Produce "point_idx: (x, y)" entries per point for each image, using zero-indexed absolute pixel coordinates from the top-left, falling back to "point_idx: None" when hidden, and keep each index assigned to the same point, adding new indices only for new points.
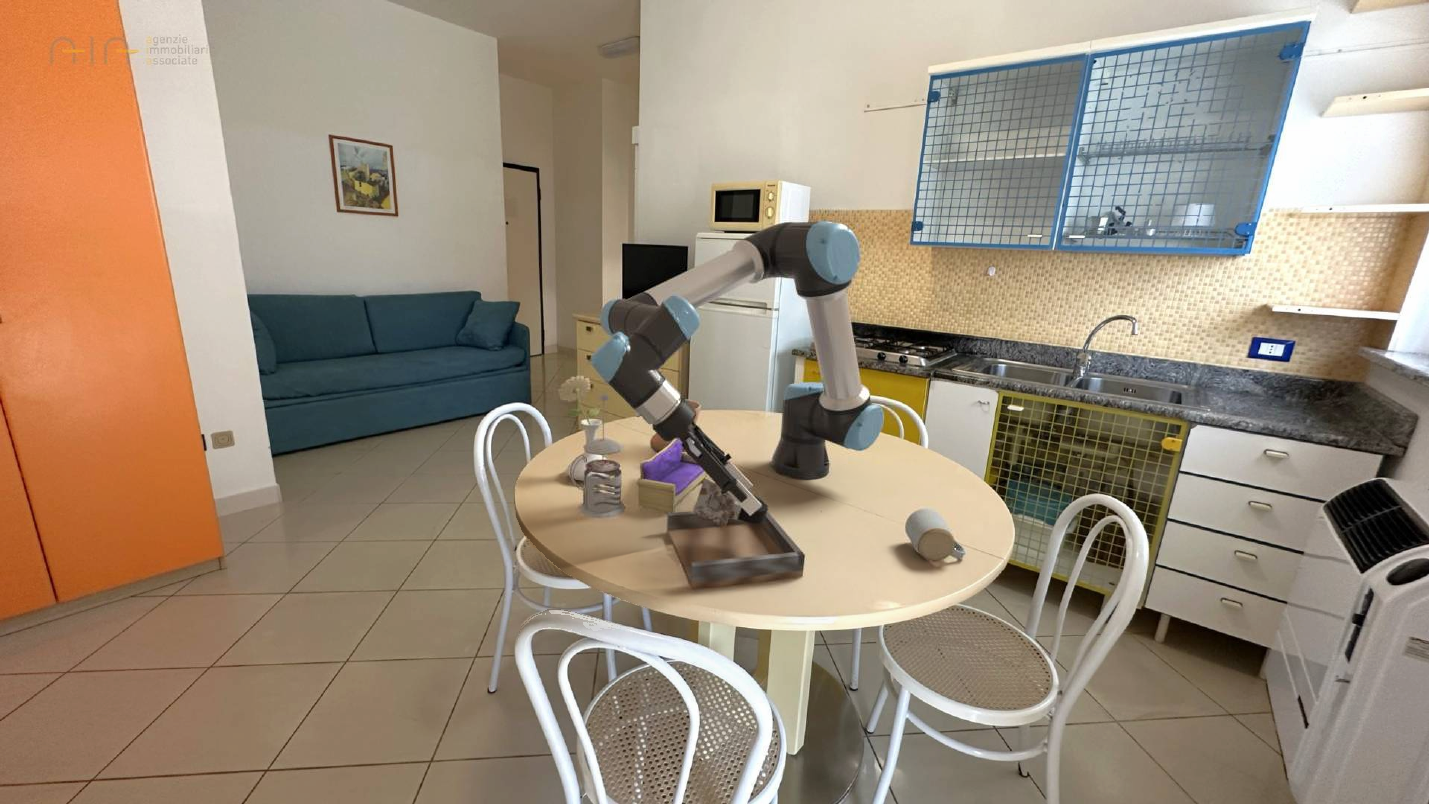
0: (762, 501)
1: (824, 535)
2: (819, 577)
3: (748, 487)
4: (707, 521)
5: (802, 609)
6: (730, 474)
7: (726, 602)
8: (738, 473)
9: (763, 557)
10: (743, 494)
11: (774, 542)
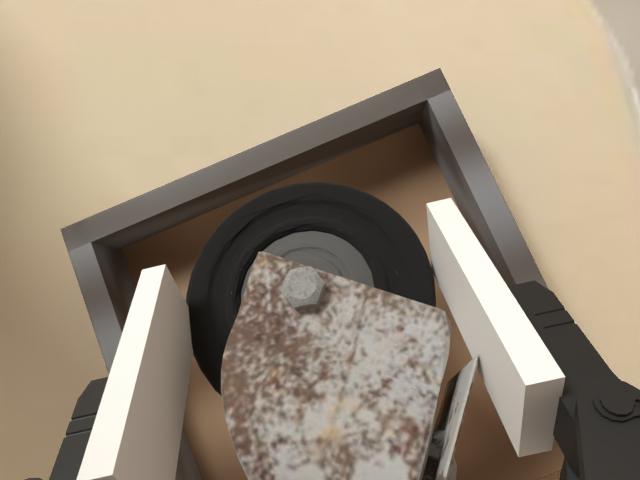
0: (249, 210)
1: (147, 32)
2: (417, 56)
3: (174, 290)
4: (182, 450)
5: (601, 107)
6: (632, 471)
7: (629, 326)
8: (145, 371)
9: (497, 212)
10: (563, 310)
11: (263, 188)
